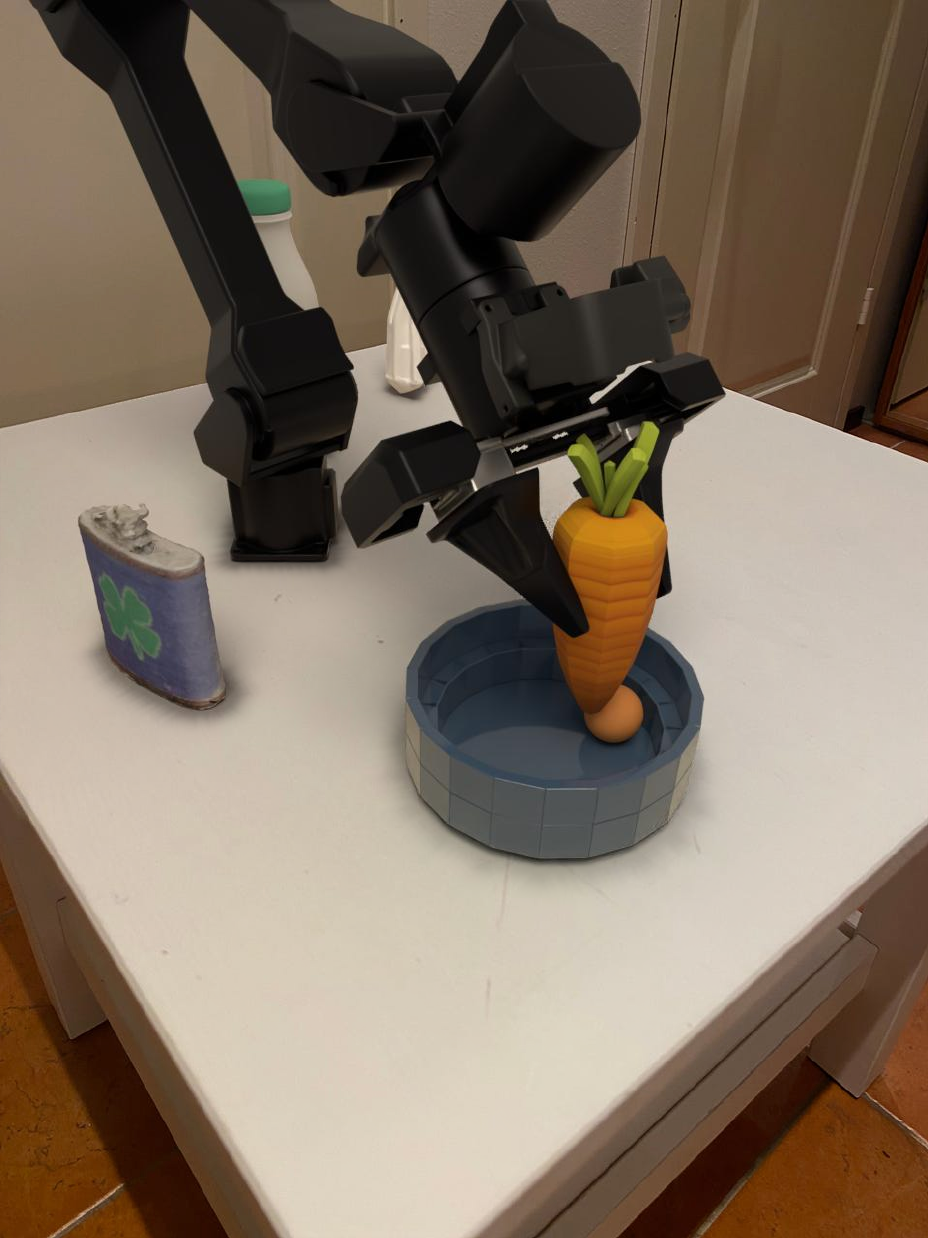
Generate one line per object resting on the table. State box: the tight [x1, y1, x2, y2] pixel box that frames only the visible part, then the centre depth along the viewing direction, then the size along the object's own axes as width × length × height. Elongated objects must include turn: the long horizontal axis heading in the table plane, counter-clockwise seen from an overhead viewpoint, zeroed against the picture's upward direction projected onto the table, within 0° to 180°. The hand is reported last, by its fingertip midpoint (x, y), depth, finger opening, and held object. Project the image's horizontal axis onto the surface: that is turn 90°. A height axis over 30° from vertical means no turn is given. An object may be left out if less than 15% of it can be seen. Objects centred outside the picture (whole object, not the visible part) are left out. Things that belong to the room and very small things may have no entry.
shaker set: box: [384, 286, 428, 394], centre depth 87 cm, size 12×4×11 cm, turn 167°
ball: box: [584, 685, 643, 743], centre depth 48 cm, size 3×3×3 cm
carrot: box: [551, 421, 669, 715], centre depth 42 cm, size 5×5×15 cm
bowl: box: [404, 599, 705, 859], centre depth 46 cm, size 14×14×5 cm
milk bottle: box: [236, 178, 320, 310], centre depth 71 cm, size 8×8×20 cm
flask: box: [77, 502, 227, 711], centre depth 50 cm, size 9×3×11 cm, turn 51°
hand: (623, 615), depth 42 cm, fingers closed on carrot, 5 cm apart
